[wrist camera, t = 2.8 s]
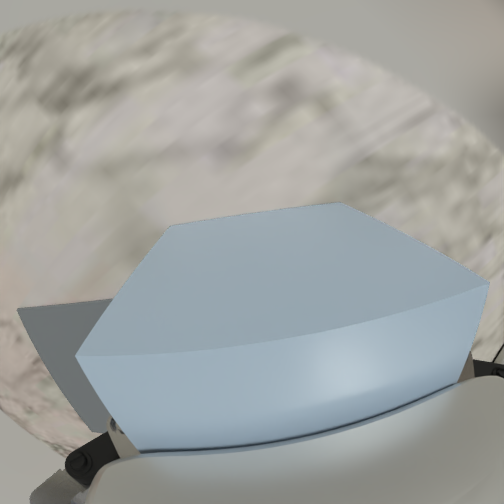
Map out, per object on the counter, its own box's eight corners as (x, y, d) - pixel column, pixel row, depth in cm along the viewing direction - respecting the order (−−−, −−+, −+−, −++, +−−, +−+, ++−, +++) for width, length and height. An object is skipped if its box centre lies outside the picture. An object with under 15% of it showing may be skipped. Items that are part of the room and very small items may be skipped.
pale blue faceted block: (340, 202, 12) (489, 282, 4) (338, 370, 16) (391, 488, 7) (169, 226, 12) (74, 355, 4) (213, 391, 15) (212, 523, 7)
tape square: (188, 289, 13) (188, 290, 13) (233, 432, 17) (233, 434, 17) (18, 308, 13) (16, 309, 13) (92, 430, 17) (92, 431, 17)
